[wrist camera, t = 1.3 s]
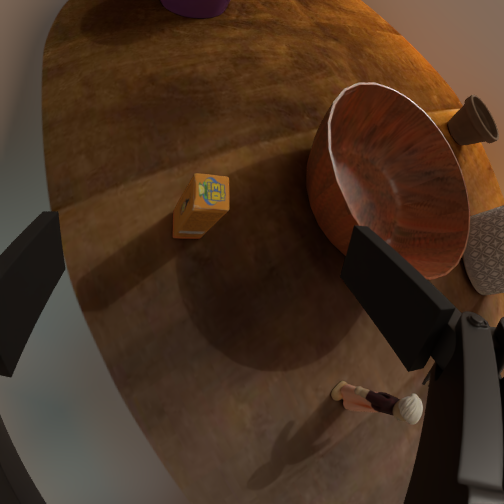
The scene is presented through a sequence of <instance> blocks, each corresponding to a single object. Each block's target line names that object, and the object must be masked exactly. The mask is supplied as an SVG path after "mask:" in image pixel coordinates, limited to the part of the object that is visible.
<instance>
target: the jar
mask: <svg viewBox="0 0 504 504" xmlns="http://www.w3.org/2000/svg"><path fill="white" fill-rule="evenodd" d="M160 2H161V4H162V5H163V6H164V7H165V8H166V9H168V10H169V11H171V12H173V13H175V14H178V15H181V16H185V17H190V18H211V17H215V16H218V15H220V14H222V13H223V12H224V11H225V10H226V9H227V7H228V4H229V2H230V0H160Z"/></svg>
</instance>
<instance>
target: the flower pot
mask: <svg viewBox="0 0 504 504" xmlns="http://www.w3.org/2000/svg"><path fill="white" fill-rule="evenodd" d="M448 128H449V131H450V134H451V135H452V137H453V139H454V140H455V141H456V142H457V143H458V144H459V145H469V144H474V143H479V142H485V141H486V142H487V143H492V142H495V141H497V140H498V137H499V134H498V129H497V126H496V124H495V121H494V119H493V117H492V115H491V113H490V112H489V110H488V108H487V107H486V105H485V104H484V103H483V102H482V101H481V100H480V98H479V97H477V96H476V95H471V96H470V97H468V98H467V99H466V100H465V104H464V106H463V107H462V108H461V109H460V110H459V111H458V112H457V113H456V114H455V115H454V116H453V117H452V118H451V119H450V120H449V122H448Z"/></svg>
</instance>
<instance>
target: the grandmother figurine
mask: <svg viewBox="0 0 504 504" xmlns="http://www.w3.org/2000/svg"><path fill="white" fill-rule="evenodd" d="M331 397H332V398H333V399H334V400H336V401H338V400H341V399H343V400H344V401H343V405H344V408H345V409H347V410H351V411H357V412H383V413H386V414H390V415H394V417H395V418H396V419H397V420H399V421H407V422H408V423H409V424H416V423H417V422H418V421H419V419H420V417H421V415H422V411H423V406H422V402H421V400H420V398H419V397H418V396H417V395H416V394H411V396H410V397H405V398H403V399H401V400H400V399H398V398H396V397H394V396H392V395H390V394H387V393H383V392H373V391H371V390H367V389H363V388H362V387H361V386H357V387H356V386H352V385H349V384H347V383H346V382H345V381H341V382H340V383H339V384H338V385H337V386H336V387H335V388H334V389H333V390H332V393H331Z"/></svg>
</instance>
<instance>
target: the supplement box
mask: <svg viewBox="0 0 504 504" xmlns="http://www.w3.org/2000/svg"><path fill="white" fill-rule="evenodd" d="M228 211H229V177H224V176H217V175H208V174H198V173H195V174H194V176H193V177H192V179H191V181H190V183H189V184H188V186H187V188H186V189H185V191H184V193H183V194H182V196H181V198H180V200H179V201H178V203H177V205H176V207H175V209H174V211H173V238H181V239H200V238H201V237H202V236H203V235H204V234H205V233H206V232H207V231H208V230H209V229H210V228H211V227H212V226H213V225H214V224H215V223H216V222H217V221H218V220H219V219H220V218H221V217H222V216H223V215H224V214H226V213H227V212H228Z"/></svg>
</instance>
